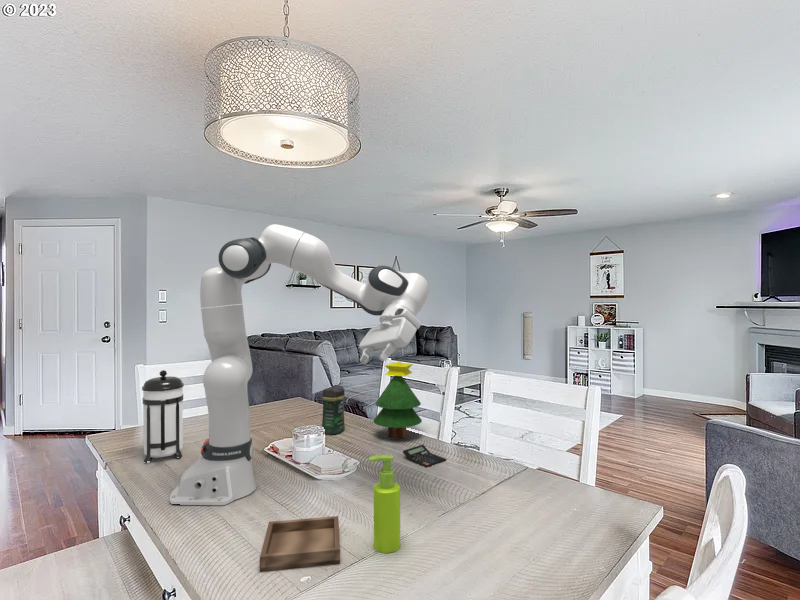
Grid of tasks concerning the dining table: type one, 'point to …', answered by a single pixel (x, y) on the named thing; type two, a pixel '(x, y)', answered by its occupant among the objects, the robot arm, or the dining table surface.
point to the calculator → (422, 456)
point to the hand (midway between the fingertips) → (371, 361)
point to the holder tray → (301, 544)
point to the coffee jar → (333, 410)
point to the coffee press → (163, 416)
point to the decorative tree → (397, 403)
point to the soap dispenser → (386, 508)
